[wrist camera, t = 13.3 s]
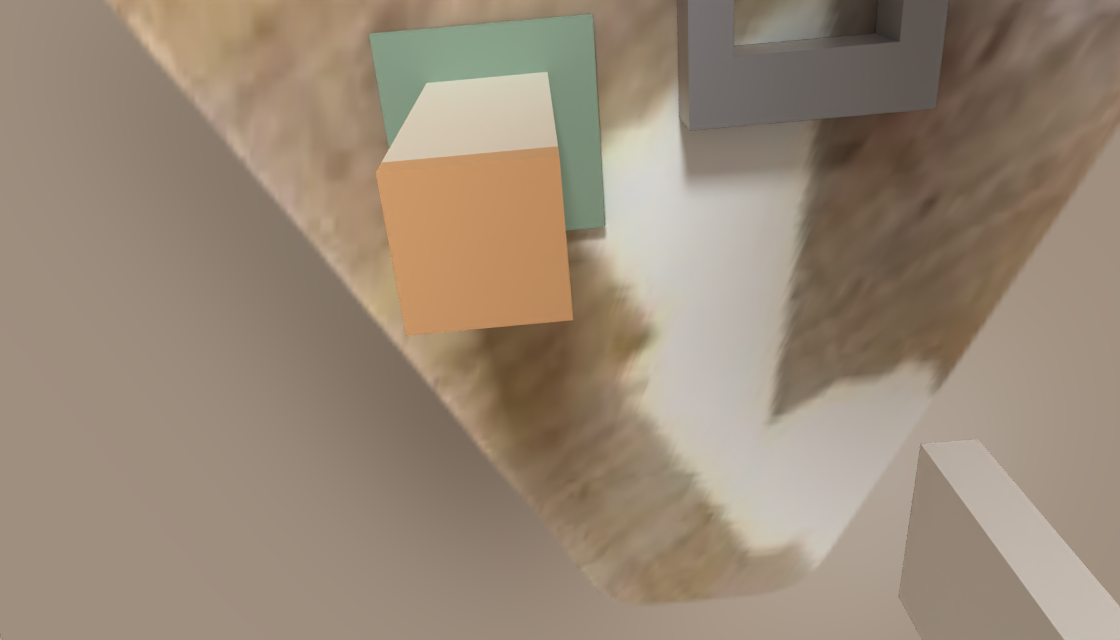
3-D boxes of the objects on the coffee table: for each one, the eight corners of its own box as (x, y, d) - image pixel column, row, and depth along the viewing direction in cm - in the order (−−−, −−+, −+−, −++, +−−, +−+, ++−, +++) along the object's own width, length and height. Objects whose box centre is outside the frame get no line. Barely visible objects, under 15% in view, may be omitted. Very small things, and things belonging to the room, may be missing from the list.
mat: (371, 33, 34) (369, 35, 33) (591, 14, 34) (592, 15, 33) (407, 239, 38) (405, 244, 37) (603, 222, 38) (604, 227, 37)
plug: (426, 82, 34) (375, 172, 22) (547, 71, 34) (559, 155, 22) (444, 199, 36) (406, 335, 25) (557, 188, 36) (573, 320, 25)
